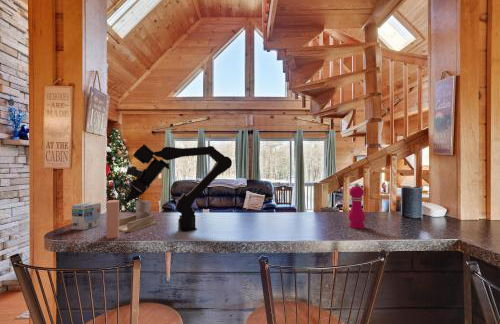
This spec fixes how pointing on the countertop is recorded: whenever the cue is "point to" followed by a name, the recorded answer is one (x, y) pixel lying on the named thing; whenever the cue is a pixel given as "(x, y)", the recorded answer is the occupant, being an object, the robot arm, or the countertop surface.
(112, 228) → the salmon pink rectangular block
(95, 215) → the light bulb box
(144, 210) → the book trough
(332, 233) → the countertop surface
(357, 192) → the pepper mill
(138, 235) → the countertop surface
